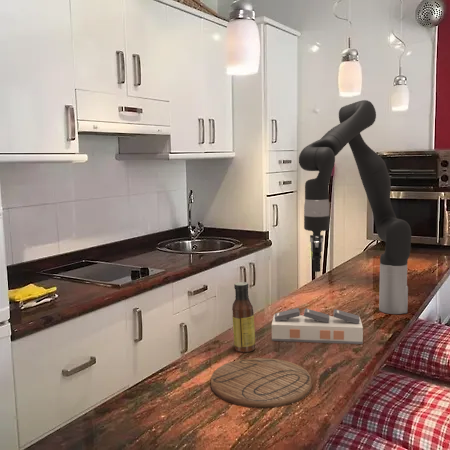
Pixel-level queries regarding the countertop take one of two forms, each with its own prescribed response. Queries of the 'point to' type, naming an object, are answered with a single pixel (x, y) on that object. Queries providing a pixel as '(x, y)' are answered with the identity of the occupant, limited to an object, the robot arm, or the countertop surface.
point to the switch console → (317, 330)
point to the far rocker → (287, 314)
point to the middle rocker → (316, 315)
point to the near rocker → (346, 316)
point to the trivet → (261, 382)
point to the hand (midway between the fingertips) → (316, 269)
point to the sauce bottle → (243, 319)
